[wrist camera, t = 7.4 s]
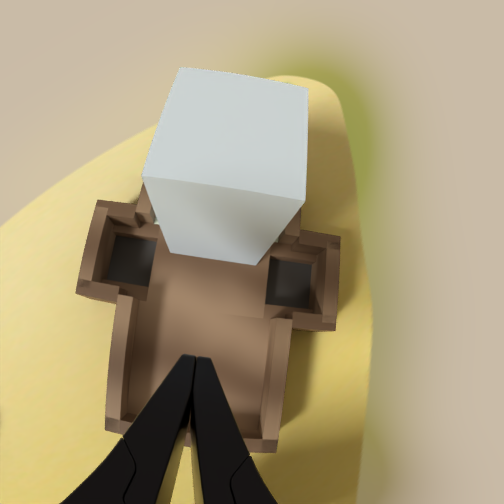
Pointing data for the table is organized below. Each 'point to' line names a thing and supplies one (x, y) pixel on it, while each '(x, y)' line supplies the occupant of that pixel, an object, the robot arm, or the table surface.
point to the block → (227, 164)
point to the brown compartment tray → (205, 313)
